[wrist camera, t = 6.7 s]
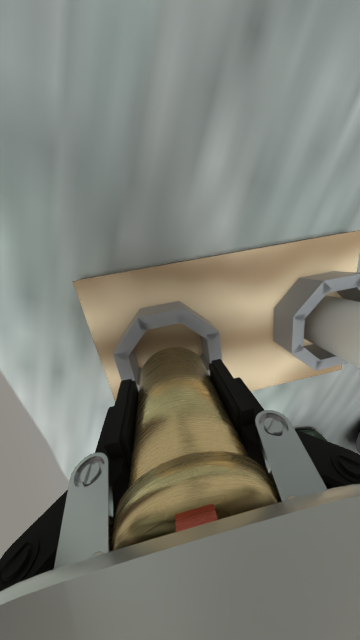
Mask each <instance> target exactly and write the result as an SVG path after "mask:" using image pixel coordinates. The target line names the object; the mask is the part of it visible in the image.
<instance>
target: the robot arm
mask: <svg viewBox="0 0 360 640" xmlns="http://www.w3.org/2000/svg"><path fill="white" fill-rule="evenodd" d="M209 371H210V377H211V379H212V381H213V384H214V386H215V388H216V390H217V392H218V394H219V396H220V398H221V400H222V402H223V404H224V406H225V408H226V410H227V412H228V414H229V417H230V419H231V421H232V423H233V425H234V427H235V429H236V431H237V433H238V435H239V437H240V439H241V441H242V443H243V445H244V448H245V450H246V452H247V454H248V456H249V458H251V459H253V460H254V461H256V462H257V463H259V464H260V465H261V466H262V467H263V468H264V469H265V470H266V472H267V474H268V475H269V477H270V479H271V481H272V484H273V486H274V488H275V490H276V493H277V495H278V497H279V500H280V502H279V503H275V504H272V505H268V506H265V507H261V508H258V509H254V510H251V511H247V512H244V513H240V514H237V515H233V516H230V517H226V518H223V519H219V520H216V521H213V522H209V523H206V524H202V525H199V526H195V527H192V528H189V529H185V530H182V531H178V532H175V533H172V534H168V535H165V536H161V537H158V538H155V539H151V540H148V541H144V542H141V543H138V544H134V545H131V546H128V547H124V548H121V549H118V550H114V551H111V544H112V534H113V525H114V518H115V512H116V509H117V505H118V503H119V501H120V499H121V497H122V496H123V494H124V493H125V492H126V490H127V489H128V488H129V479H130V470H131V461H132V452H133V443H134V433H135V424H136V415H137V406H138V396H139V391H138V388H137V385H136V382H135V380H134V381H132V379H127V380H123V381H121V383H120V387H119V390H118V394H117V398H116V402H115V406H113V407H110V408H109V409H108V412H107V415H106V418H105V421H104V425H103V428H102V431H101V435H100V438H99V441H98V445H97V448H96V451H95V453H93V454H90V455H89V456H87V457H85V458H84V459H83V460H82V461H81V462H80V463H79V464H78V465H77V466H76V467H75V469H74V471H73V472H72V474H71V477H70V481H69V487H68V490H67V491H66V492H65V493H64V494H63V495H62V496H61V497H60V498H59V499H58V500H57V501H56V502H55V503H54V504H53V505H52V506H51V507H50V508H49V509H48V510H47V511H46V512H45V513H44V514H43V515H42V516H41V517H39V518H38V520H37V521H35V522H34V523H33V525H31V526H30V527H29V528H28V529H27V530H26V531H25V532H24V533H23V534H22V535H21V536H20V537H19V538H18V539H17V540H16V541H15V542H14V543H13V544H12V545H11V546H10V548H9V549H8V550H7V551H6V552H5V553H4V555H3V556H2V558H1V559H0V640H360V455H359V454H357V453H355V452H353V451H351V450H348V449H346V448H343V447H340V446H338V445H335V444H332V443H330V442H327V441H325V440H322V439H319V438H317V437H314V436H311V435H309V434H306V433H303V432H301V431H298V430H296V429H294V427H293V426H292V424H291V422H290V421H289V419H288V418H287V417H285V416H284V415H283V414H281V413H279V412H276V411H272V410H266V411H265V410H264V409H263V408H262V406H261V405H260V404H259V402H258V401H257V400H256V398H255V397H254V395H253V394H252V393H251V391H250V390H249V389H248V387H247V386H246V385H245V383H244V382H243V381H242V379H241V378H239V377H238V378H233V376H232V375H231V373H230V372H229V370H228V369H227V367H226V366H225V364H224V363H223V362H222V360H221V359H217V360H212V361H211V363H210V364H209Z"/></svg>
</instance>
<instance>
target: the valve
mask: <svg viewBox="0 0 360 640" xmlns="http://www.w3.org/2000/svg"><path fill="white" fill-rule="evenodd" d="M279 502H280V500H279V497H278V495H277V493H276V490H275V488H274V486H273V484H272V481H271V479H270V477H269V475H268V474H267V472H266V470H265V469H264V468H263V467H262V466H261V465H260V464H259V463H257V462H256V461H254V460H253V459H251V458H249V456H248V454H247V452H246V450H245V448H244V445H243V443H242V441H241V439H240V437H239V435H238V433H237V431H236V429H235V427H234V425H233V423H232V421H231V419H230V417H229V414H228V412H227V410H226V408H225V406H224V404H223V402H222V400H221V398H220V396H219V394H218V392H217V390H216V388H215V386H214V384H213V381H212V379H211V377H210V375H209V373H208V371H207V369H206V367H205V365H204V363H203V361H202V359H201V358H200V357H199V356H198V355H197V354H196V353H194V352H193V351H191V350H189V349H186V348H181V347H171V348H166V349H163V350H160V351H158V352H156V353H155V354H153V355H152V356H151V357H150V358H149V359H148V360H147V361H146V363H145V364H144V366H143V368H142V371H141V378H140V387H139V396H138V406H137V415H136V424H135V433H134V443H133V452H132V461H131V470H130V479H129V488H128V489H127V490H126V492H125V493H124V494H123V496H122V497H121V499H120V501H119V503H118V505H117V509H116V512H115V518H114V525H113V534H112V544H111V551H114V550H118V549H121V548H124V547H128V546H131V545H134V544H138V543H141V542H144V541H148V540H151V539H155V538H158V537H161V536H165V535H168V534H172V533H175V532H178V531H182V530H185V529H189V528H192V527H195V526H199V525H202V524H206V523H209V522H213V521H216V520H219V519H223V518H226V517H230V516H233V515H237V514H240V513H244V512H247V511H251V510H254V509H258V508H261V507H265V506H268V505H272V504H275V503H279Z"/></svg>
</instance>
